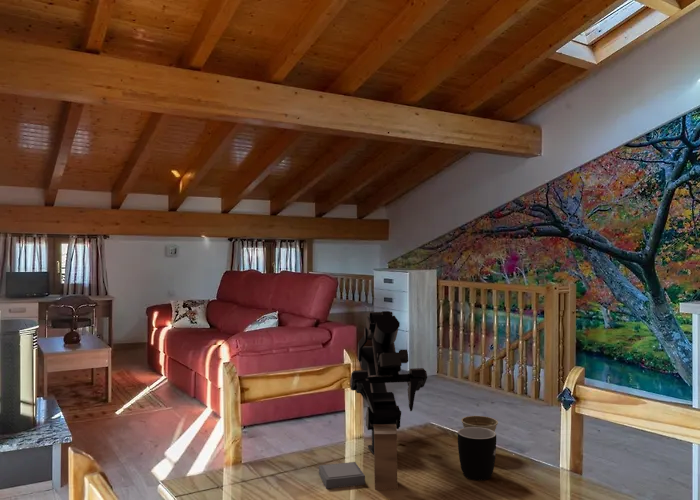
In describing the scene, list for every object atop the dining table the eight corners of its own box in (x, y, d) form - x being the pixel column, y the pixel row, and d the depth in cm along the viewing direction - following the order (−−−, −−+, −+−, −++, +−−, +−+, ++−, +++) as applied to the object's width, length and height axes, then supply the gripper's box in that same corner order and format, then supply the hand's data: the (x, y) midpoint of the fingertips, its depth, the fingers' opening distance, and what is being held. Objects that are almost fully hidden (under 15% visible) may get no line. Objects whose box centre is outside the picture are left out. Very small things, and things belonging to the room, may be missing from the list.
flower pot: (501, 450, 152) (501, 417, 152) (494, 462, 144) (494, 427, 144) (466, 445, 156) (466, 414, 156) (457, 456, 148) (457, 423, 148)
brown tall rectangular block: (374, 480, 133) (373, 424, 133) (396, 480, 132) (395, 424, 133) (374, 489, 127) (374, 431, 128) (397, 489, 127) (397, 431, 128)
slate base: (318, 473, 137) (318, 464, 137) (355, 470, 139) (355, 461, 139) (326, 488, 128) (326, 479, 128) (364, 484, 130) (364, 474, 130)
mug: (499, 483, 130) (499, 439, 130) (460, 482, 131) (459, 438, 131) (491, 464, 142) (490, 423, 142) (454, 463, 143) (454, 422, 143)
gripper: (351, 338, 140) (357, 398, 130) (425, 336, 142) (437, 394, 132) (347, 361, 148) (353, 418, 139) (418, 358, 151) (428, 415, 141)
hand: (392, 411), depth 137 cm, fingers open, 9 cm apart
